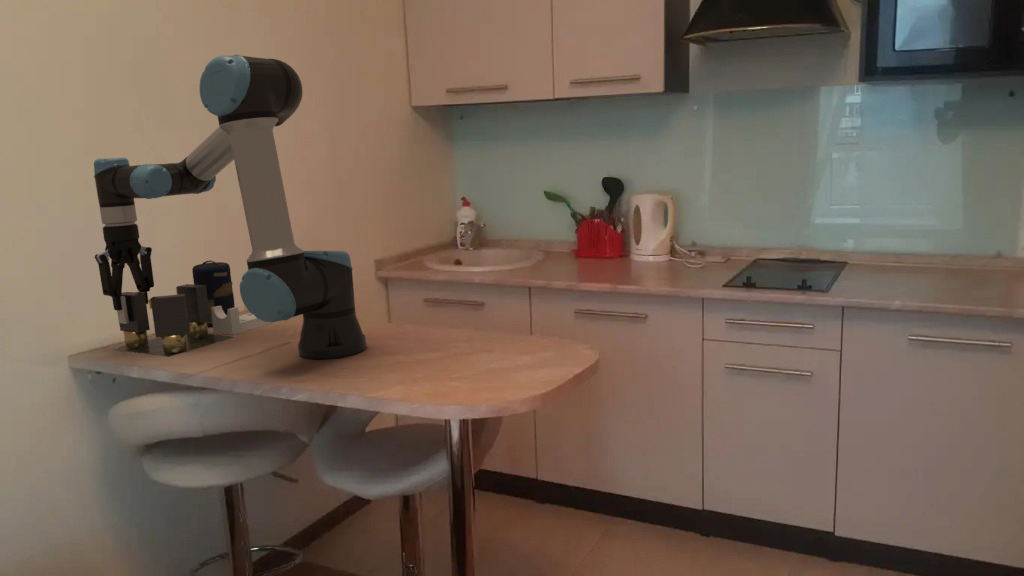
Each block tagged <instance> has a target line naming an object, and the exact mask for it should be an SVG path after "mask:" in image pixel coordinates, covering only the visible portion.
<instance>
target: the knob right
mask: <svg viewBox="0 0 1024 576" xmlns="http://www.w3.org/2000/svg"><path fill="white" fill-rule="evenodd" d="M175 290H176V295H179V294H185V296H186V304H187V312H188V319H189V327H190V332H189V334H187V337H188V338H199V337H204V336H207V335H208V334H209V329H208V328H209V327H207V322H208V321H210V314H209V306H208V298H207V290H206V285H194V284H190V283H189V284H188V283H186V284H182V285H178V286H176V287H175Z"/></svg>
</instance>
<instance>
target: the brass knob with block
mask: <svg viewBox="0 0 1024 576" xmlns="http://www.w3.org/2000/svg"><path fill="white" fill-rule="evenodd" d="M136 292H137V291H134V292H133V291H132V292H131V291H124V292H122V294H121V296H125V300H126V307H127V314H128V321H129V323H127V324H123V323H119V322H118V324H119V329H120V330H119V331H120V332H121V331H122V332H123V336H124V344H125V346H126V347H127V348H135V347H141V346H145V345H148V340H149V337H148V332H147V331H150V330H151V328H150V322H149V314H148V307H147V304H146V299H145V293H136Z"/></svg>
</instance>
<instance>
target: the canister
mask: <svg viewBox="0 0 1024 576" xmlns="http://www.w3.org/2000/svg"><path fill="white" fill-rule="evenodd" d="M191 271H192V278H193V279H192V280H193V285H206V290H207V298H208V306H209V314H210V321H208V322H207V327H208V328H213V322H212V314H211V308H212V307H216V306H222V310H223V312H224V313H225V314H226V315H227V309H230V308H234V307H236V305H235V295H234V292H233V291H234V290H233V281H232V274H231V267H230V264H229V263H227V262H222V261H221V262H216V261H214V260H205V261H204V262H202V263H199V264H196V265H194V266H192V270H191Z"/></svg>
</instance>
